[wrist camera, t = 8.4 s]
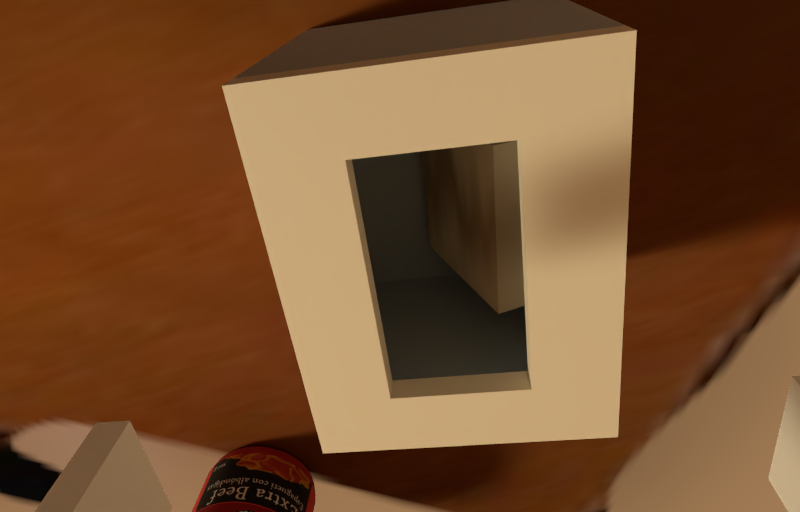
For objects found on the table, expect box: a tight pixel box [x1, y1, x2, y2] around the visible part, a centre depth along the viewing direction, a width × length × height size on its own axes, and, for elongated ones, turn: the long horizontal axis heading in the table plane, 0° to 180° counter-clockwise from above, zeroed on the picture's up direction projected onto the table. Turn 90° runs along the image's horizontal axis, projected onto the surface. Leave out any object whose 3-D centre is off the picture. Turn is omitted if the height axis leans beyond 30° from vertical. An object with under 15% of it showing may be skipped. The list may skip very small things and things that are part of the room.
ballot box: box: [222, 0, 637, 454], centre depth 24 cm, size 14×11×12 cm
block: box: [421, 140, 525, 314], centre depth 25 cm, size 7×3×7 cm
